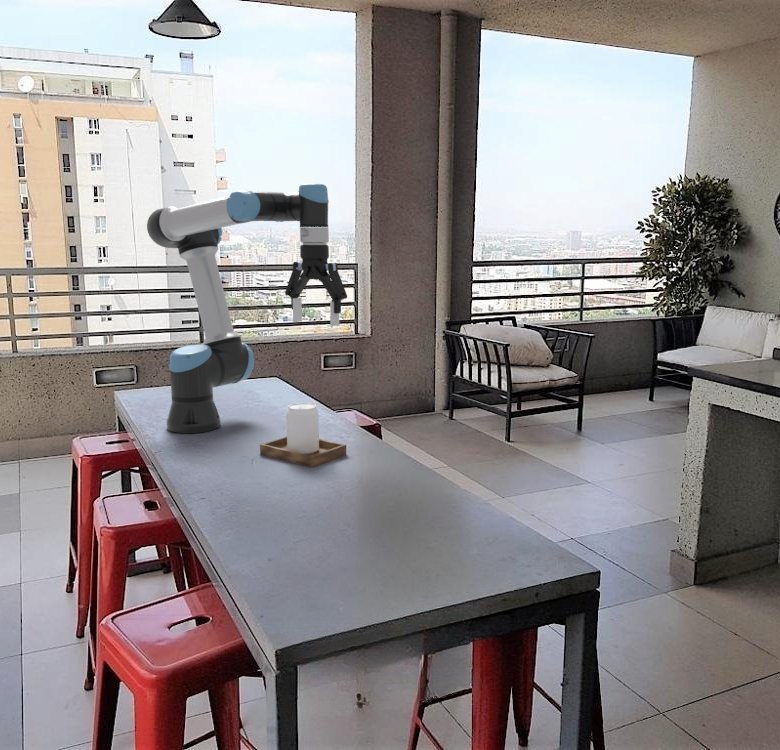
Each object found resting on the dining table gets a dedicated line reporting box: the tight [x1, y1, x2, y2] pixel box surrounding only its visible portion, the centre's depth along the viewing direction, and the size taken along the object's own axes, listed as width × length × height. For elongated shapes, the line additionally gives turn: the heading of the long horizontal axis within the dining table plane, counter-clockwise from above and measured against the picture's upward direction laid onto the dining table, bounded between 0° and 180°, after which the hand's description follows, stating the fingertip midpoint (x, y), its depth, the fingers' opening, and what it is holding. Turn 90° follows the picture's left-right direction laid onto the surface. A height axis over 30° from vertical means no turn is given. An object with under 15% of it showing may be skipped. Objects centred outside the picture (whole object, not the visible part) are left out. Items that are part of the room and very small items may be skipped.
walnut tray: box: [259, 435, 347, 468], centre depth 190 cm, size 18×13×3 cm
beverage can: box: [285, 402, 320, 455], centre depth 189 cm, size 8×8×12 cm
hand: (315, 323), depth 200 cm, fingers open, 13 cm apart
